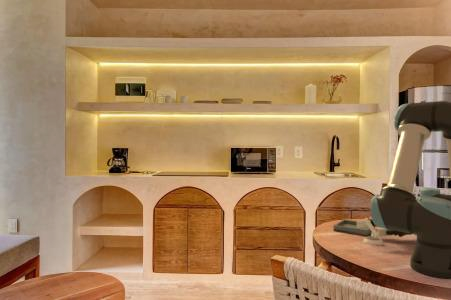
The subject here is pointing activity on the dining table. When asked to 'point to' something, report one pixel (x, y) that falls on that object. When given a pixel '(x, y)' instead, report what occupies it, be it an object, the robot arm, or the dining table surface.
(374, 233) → the white vr controller
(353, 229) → the tray
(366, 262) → the dining table surface
